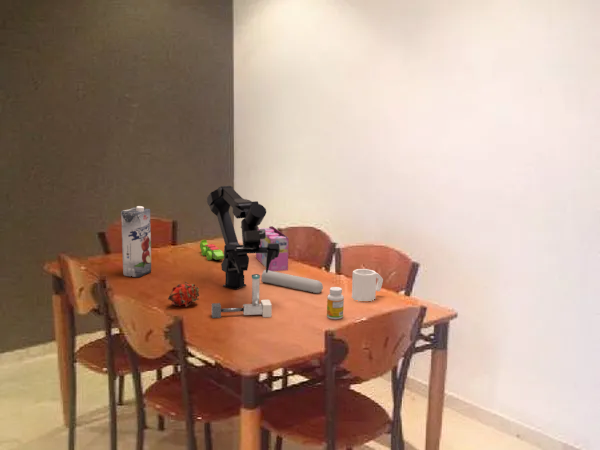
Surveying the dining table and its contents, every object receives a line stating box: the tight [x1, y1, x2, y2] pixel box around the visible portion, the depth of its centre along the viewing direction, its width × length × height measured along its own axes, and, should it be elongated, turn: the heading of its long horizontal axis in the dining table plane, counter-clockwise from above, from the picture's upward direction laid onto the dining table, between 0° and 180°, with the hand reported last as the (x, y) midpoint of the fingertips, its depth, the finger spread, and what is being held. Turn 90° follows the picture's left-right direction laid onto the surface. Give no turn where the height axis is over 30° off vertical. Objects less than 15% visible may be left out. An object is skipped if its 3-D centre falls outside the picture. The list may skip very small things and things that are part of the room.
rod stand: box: [211, 302, 244, 319], centre depth 244 cm, size 12×4×4 cm, turn 100°
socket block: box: [260, 299, 273, 318], centre depth 246 cm, size 3×6×4 cm, turn 10°
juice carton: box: [120, 205, 152, 278], centre depth 288 cm, size 9×10×27 cm
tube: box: [260, 269, 324, 294], centre depth 277 cm, size 5×5×25 cm
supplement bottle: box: [326, 286, 345, 320], centre depth 244 cm, size 5×5×10 cm
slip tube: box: [242, 273, 263, 316], centre depth 244 cm, size 8×3×13 cm, turn 100°
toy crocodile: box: [199, 239, 224, 261], centre depth 318 cm, size 20×7×6 cm, turn 25°
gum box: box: [255, 226, 289, 272], centre depth 309 cm, size 24×8×14 cm, turn 18°
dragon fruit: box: [168, 281, 200, 308], centre depth 253 cm, size 8×8×12 cm
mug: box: [351, 268, 384, 302], centre depth 266 cm, size 12×9×10 cm
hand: (253, 272), depth 250 cm, fingers open, 9 cm apart
